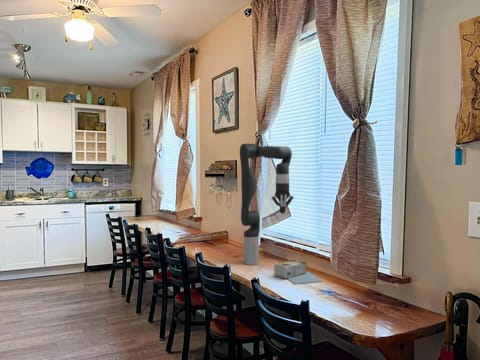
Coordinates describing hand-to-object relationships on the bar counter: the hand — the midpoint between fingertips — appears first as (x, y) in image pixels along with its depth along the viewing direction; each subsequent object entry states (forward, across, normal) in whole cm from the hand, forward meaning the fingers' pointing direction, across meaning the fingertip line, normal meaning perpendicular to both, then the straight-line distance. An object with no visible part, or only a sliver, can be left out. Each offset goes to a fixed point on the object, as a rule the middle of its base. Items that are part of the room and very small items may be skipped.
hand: (282, 213), depth 203 cm
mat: (+34, -7, +10) cm, 36 cm away
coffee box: (+31, +4, +6) cm, 32 cm away
